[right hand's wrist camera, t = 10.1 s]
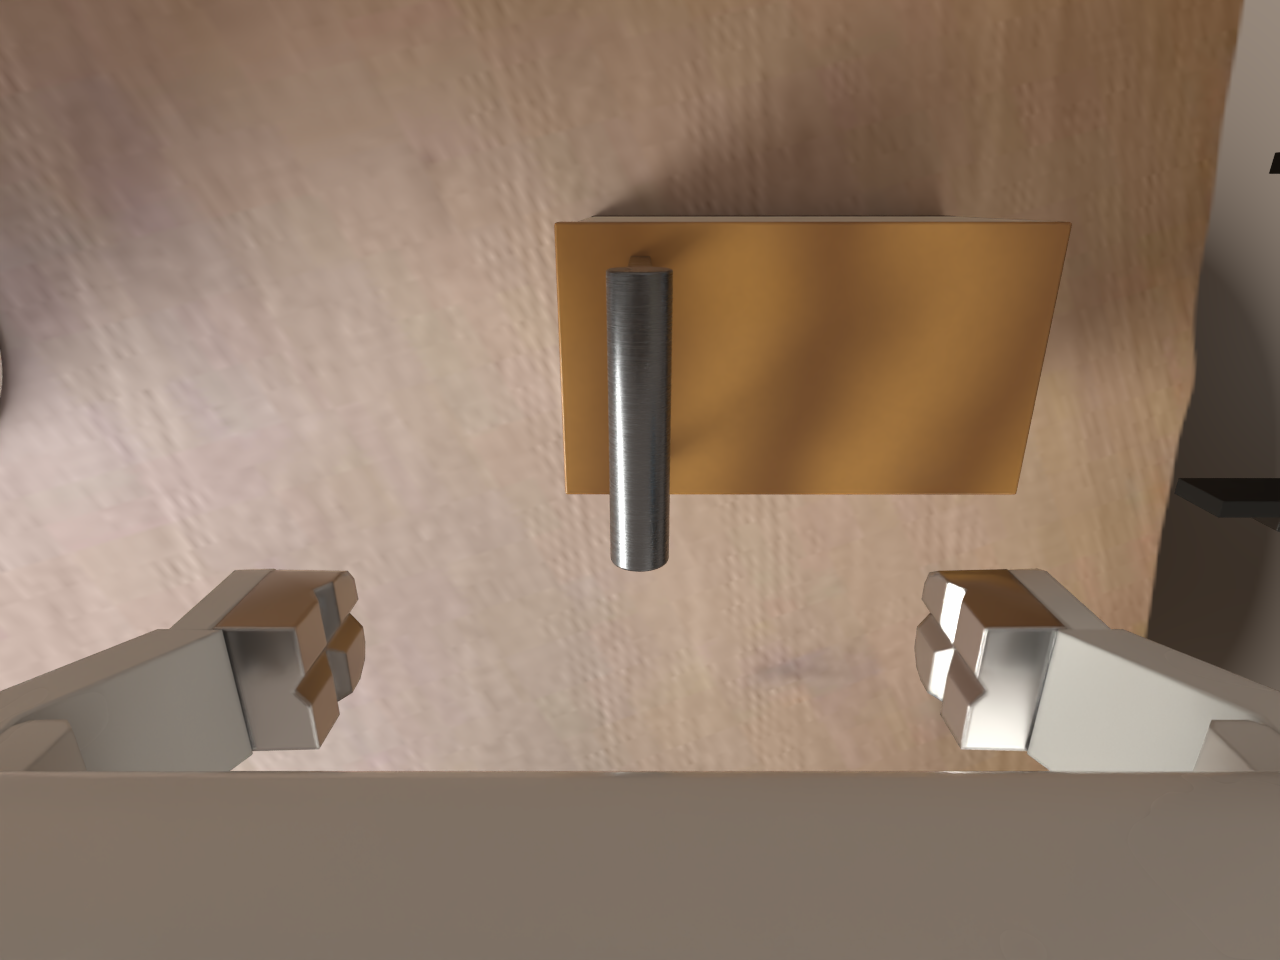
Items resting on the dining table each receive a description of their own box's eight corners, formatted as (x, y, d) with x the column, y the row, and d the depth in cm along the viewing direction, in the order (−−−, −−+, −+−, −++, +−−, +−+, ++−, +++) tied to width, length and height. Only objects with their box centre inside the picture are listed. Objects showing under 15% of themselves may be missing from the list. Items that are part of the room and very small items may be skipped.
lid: (567, 486, 28) (537, 600, 20) (556, 221, 24) (515, 231, 16) (1005, 486, 28) (1151, 601, 20) (1059, 221, 24) (1262, 231, 16)
